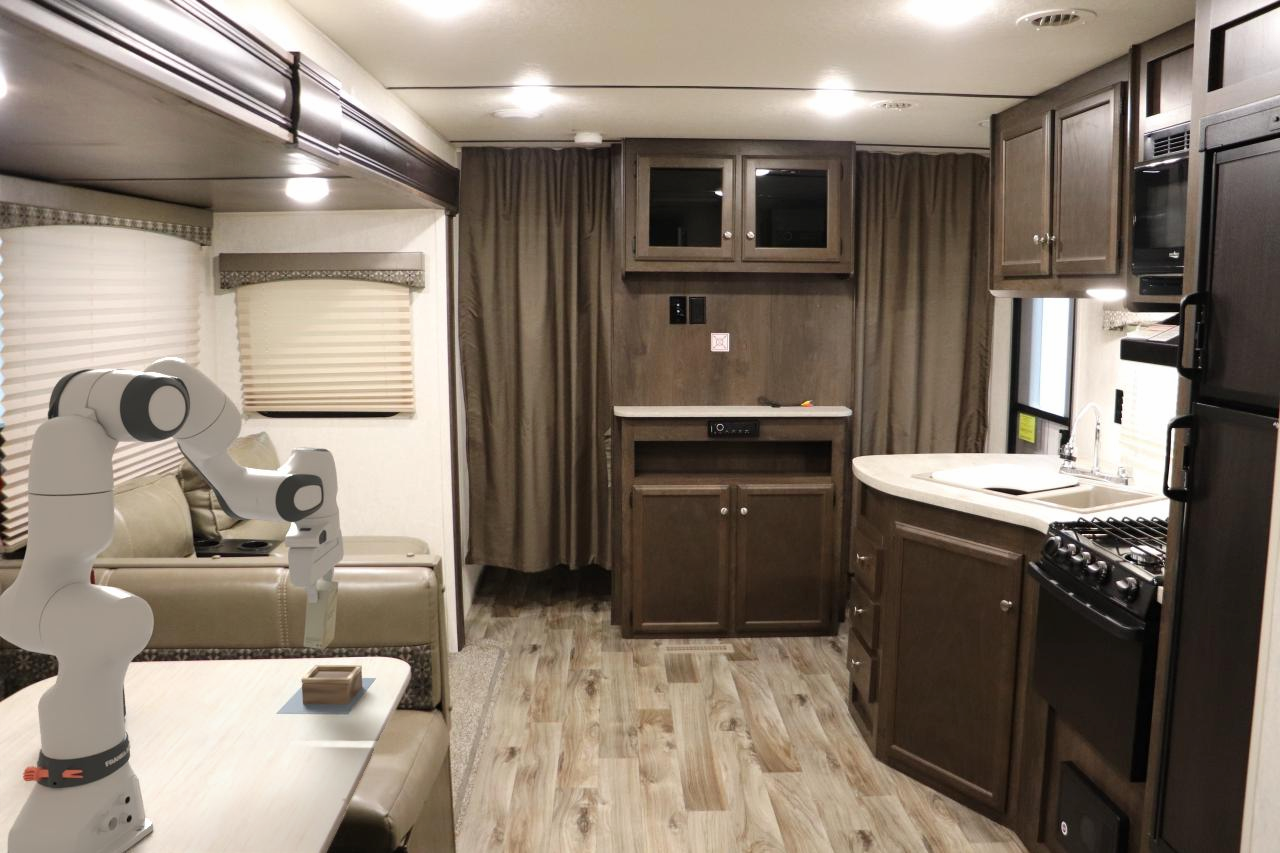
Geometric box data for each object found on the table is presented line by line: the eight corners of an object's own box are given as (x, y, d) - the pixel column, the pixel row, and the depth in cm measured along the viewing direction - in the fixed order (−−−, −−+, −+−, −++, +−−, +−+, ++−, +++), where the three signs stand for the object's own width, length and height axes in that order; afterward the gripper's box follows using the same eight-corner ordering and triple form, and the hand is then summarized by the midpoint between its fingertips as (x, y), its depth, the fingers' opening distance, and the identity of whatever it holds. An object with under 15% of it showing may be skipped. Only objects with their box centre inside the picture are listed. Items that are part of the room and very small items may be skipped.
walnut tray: (349, 704, 197) (348, 681, 196) (301, 703, 198) (300, 680, 197) (363, 686, 206) (362, 664, 205) (317, 685, 206) (316, 663, 206)
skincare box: (324, 650, 197) (329, 592, 195) (302, 647, 197) (306, 588, 195) (334, 638, 204) (339, 581, 201) (313, 634, 204) (318, 578, 201)
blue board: (348, 718, 193) (347, 714, 193) (276, 718, 193) (276, 713, 193) (376, 682, 211) (376, 678, 210) (310, 681, 211) (310, 677, 211)
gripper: (319, 515, 207) (323, 579, 209) (280, 541, 187) (285, 612, 189) (349, 515, 207) (352, 579, 209) (314, 541, 187) (318, 612, 189)
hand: (320, 595), depth 199 cm, fingers closed on skincare box, 6 cm apart
